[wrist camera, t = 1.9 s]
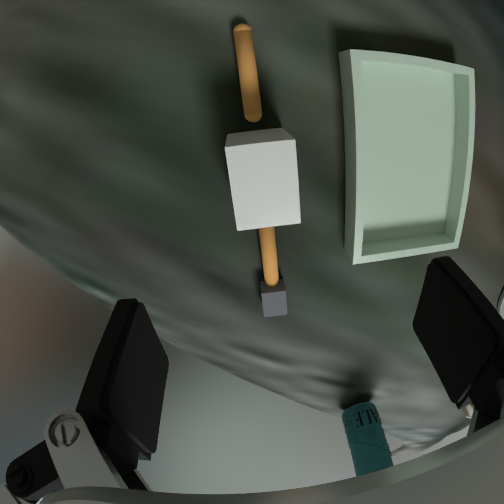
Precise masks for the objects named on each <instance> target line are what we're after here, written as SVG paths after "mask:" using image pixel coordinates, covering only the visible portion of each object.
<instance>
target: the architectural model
mask: <svg viewBox="0 0 504 504" xmlns="http://www.w3.org/2000/svg"><path fill="white" fill-rule="evenodd" d="M470 405H472V406H473V404H472V402H471V404H470ZM470 405H467V406H465V407H463V408H461V409H462V411H463V413H464V415H465V417H468V418H472V417H471V416H472V414H473V409H472V407H471V406H470ZM473 407H474V406H473Z"/></svg>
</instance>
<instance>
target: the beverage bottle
mask: <svg viewBox="0 0 504 504" xmlns="http://www.w3.org/2000/svg"><path fill="white" fill-rule="evenodd" d="M377 411H378V410H376V407H375V405H374V404H373V403H371V402H362V403H358V404H355V405H353V406H351V407H349V408H348V409H346V410H345V411H344V412H343V414H342V420H343V424H344V427H345V431H346V435H347V439H348V443H349V446H350V450H351V455H352V459H353V463H354V468H355V472H356V477H357V476H361V475H365V474H369V473H372V472H376V471H379V470H382V469H386V468H389V467H392V466H393V462H392V458H391V456H392V455H391V452H390V451H389V447H388V445H387V442H386V438H385V435H384V433H385V432H384V431H383V429H382V425H381V423H382V422H381V420H380V419H379V418H380V417H379V414H378V412H377Z"/></svg>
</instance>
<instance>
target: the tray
mask: <svg viewBox="0 0 504 504" xmlns="http://www.w3.org/2000/svg"><path fill="white" fill-rule="evenodd" d="M338 55H339V65H340V75H341V87H342V100H343V116H344V137H345V240H344V250H345V252H346V253H347V255H348V257H349V259H350V260H351V262H352V264H360V263H367V262H373V261H380V260H387V259H393V258H400V257H406V256H413V255H419V254H425V253H431V252H438V251H444V250H450V249H456V248H458V245H459V241H460V236H461V231H462V227H463V222H464V216H465V211H466V205H467V199H468V192H469V185H470V178H471V169H472V159H473V147H474V130H475V79H474V69H473V68H469V67H466V66H462V65H458V64H453V63H449V62H444V61H439V60H434V59H429V58H424V57H418V56H411V55H405V54H397V53H389V52H380V51H368V50H354V49H349V50H345V51H342V52H339V53H338Z"/></svg>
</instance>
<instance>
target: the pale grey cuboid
mask: <svg viewBox="0 0 504 504" xmlns="http://www.w3.org/2000/svg"><path fill="white" fill-rule="evenodd" d="M225 153H226V160H227V166H228V173H229V180H230V186H231V193H232V199H233V206H234V212H235V219H236V225H237V231H240V230H248V229H256V228H264V227H273V226H281V225H289V224H298V223H301V220H300V201H299V185H298V170H297V156H296V143H295V139H294V138H293V137H292V136H291V135H290V134H289V133H287V132H286V131H285V130H284V129H283V128H274V129H264V130H255V131H247V132H239V133H231V134H227V139H226V143H225Z"/></svg>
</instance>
